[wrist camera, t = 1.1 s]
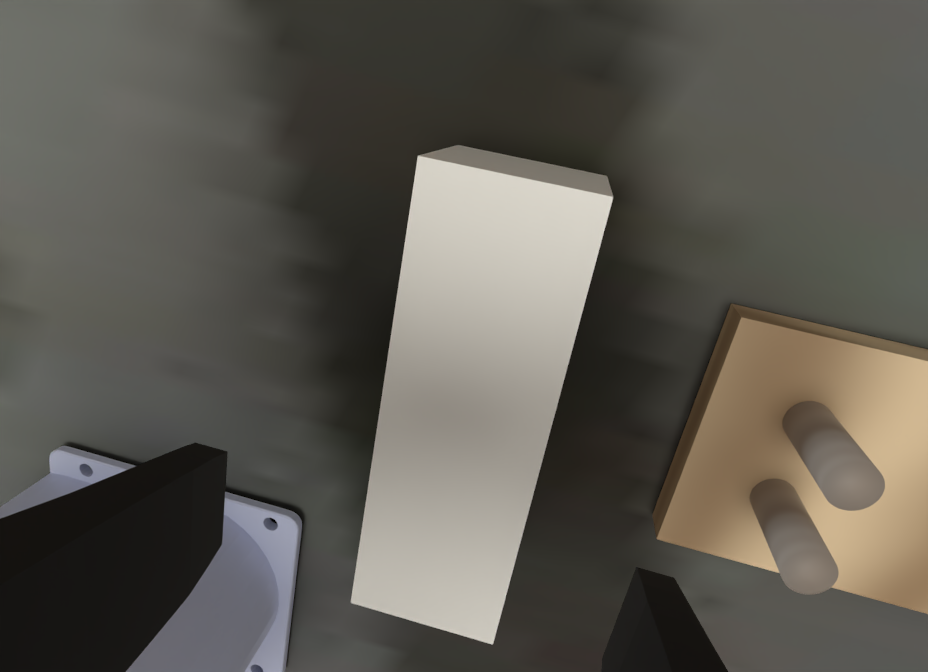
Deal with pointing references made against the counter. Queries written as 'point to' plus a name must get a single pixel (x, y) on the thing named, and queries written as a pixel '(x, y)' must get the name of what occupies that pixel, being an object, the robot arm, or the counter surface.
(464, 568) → the white rectangular block
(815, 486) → the peg stand
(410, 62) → the counter surface
